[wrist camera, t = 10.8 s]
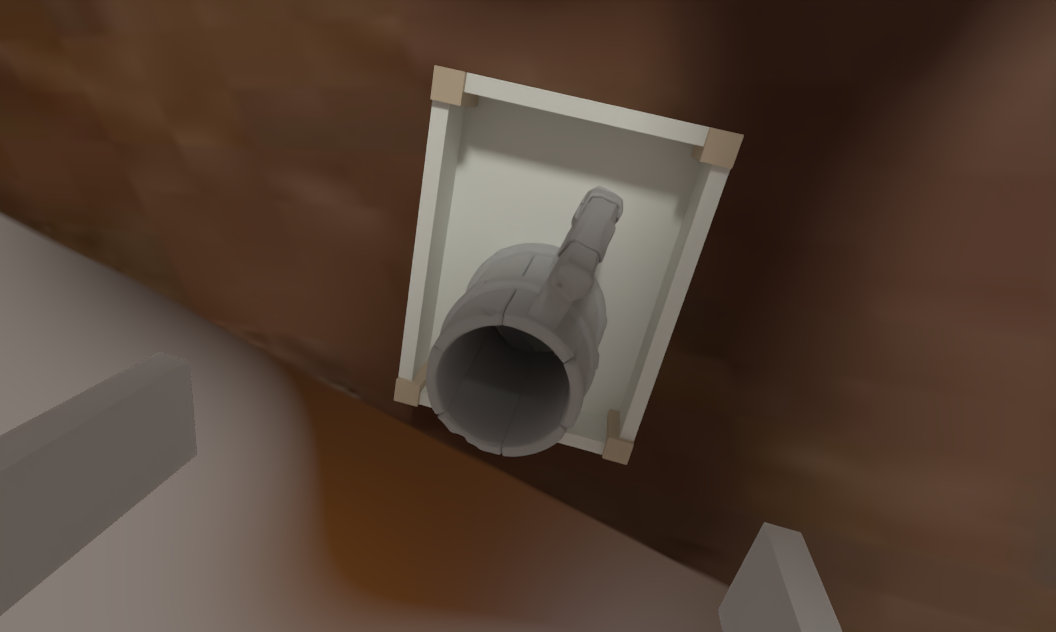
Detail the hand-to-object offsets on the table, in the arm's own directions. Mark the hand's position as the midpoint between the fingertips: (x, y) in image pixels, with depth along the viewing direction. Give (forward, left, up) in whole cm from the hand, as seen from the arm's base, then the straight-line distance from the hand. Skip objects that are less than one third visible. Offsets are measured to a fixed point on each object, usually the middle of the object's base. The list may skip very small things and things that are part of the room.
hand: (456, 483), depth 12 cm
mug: (0, 0, -18) cm, 18 cm away
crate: (0, 0, -19) cm, 19 cm away
